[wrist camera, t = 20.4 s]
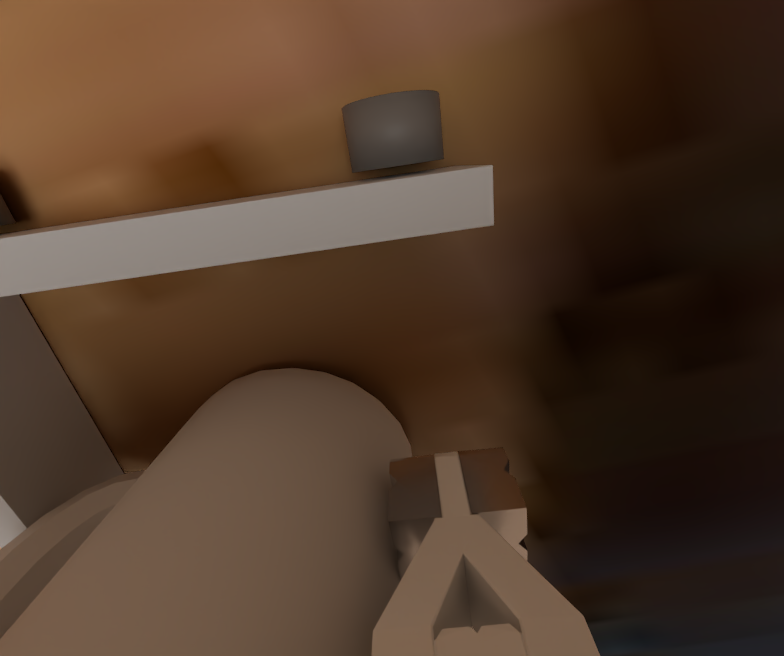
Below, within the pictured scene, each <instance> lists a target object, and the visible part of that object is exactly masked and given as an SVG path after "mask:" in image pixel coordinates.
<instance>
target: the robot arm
mask: <svg viewBox="0 0 784 656" xmlns="http://www.w3.org/2000/svg"><path fill="white" fill-rule="evenodd" d="M389 475H390V480H391V485H392V488H391V489H390V490H389V506H388V523H389V527H390V532H391V537H392V541H393V546H394V547H395V548H396V549H397V563H398V567H399V572H400V576H401V581H400V583H399V584H398V586H397V588H396V590H395V592H394V594H393V595H392V597H391V599H390V601H389V603H388V604H387V606H386V608H385V610H384V612H383V613H382V615H381V617H380V619H379V621H378V622H377V624H376V626H375V628H374V630H373V638H372V656H600V654H599V652H598V650H597V647H596V645H595V642H594V640H593V638H592V635H591V633H590V630H589V628H588V626H587V623H586V621H585V618H584V616H583V615H582V614H581V613H580V612H579V611H578V610H577V609H576V608H575V607H574V606H573V605H572V604H571V603H570V602H569V601H568V600H567V599H566V598H564V597H563V596H562V595H561V594H560V593H559V592H558V591H557V590H556V589H555V588H554V587H553V586H552V585H551V584H550V583H549V582H548V581H547V580H546V579H545V578H544V577H543V576H542V575H541V574H540V573H539V572H538V571H537V570H536V569H535V568H534V567H533V566H532V565H531V564H529V563H528V562H527V548H526V545H525V542H524V539H523V538H524V537H525V536H526V535H527V508H526V505H525V502H524V500H523V497H522V494H521V491H520V489H519V486H518V483H517V481H516V478H515V477H513V476H512V475H510V474H509V460H508V457H507V455H506V452H505V450H504V449H503V447H500V448H489V449H477V450H465V451H458V453H457V452H456V451H454V452H446V453H436V454H435V459H434V454H432V455H424V456H416V457H407V458H399V459H391V460H390V466H389ZM471 627H473V628H474V630H475V631H476V632H475V631H474V630H473V629H472V628H471Z"/></svg>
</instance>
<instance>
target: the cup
mask: <svg viewBox="0 0 784 656" xmlns="http://www.w3.org/2000/svg"><path fill="white" fill-rule="evenodd" d="M407 457H412V452H411V445H410V443H409V441H408V439H407V437H406V435H405V433H404V431H403V428H402V426H401V424H400V422H399V421H398V420H397V419H396V418H395V417H394V416H393V415H392V414H391V413H390V411H389V410H388V409H387V408H386V407H385V406H384V405H383V404H382V403H381V402H380V401H379V400H378V399H377V398H375V397H374V396H372V395H371V394H369V393H368V392H366V391H365V390H363V389H362V388H360V387H359V386H357V385H356V384H354V383H353V382H350V381H347V380H345V379H342V378H339V377H337V376H334V375H331V374H329V373H326V372H320V371H313V370H307V369H300V368H286V369H274V370H262V371H258V372H255V373H252V374H249V375H246V376H243V377H240V378H238V379H235V380H232V381H231V382H230V383H228V384H227V385H226V386H224V387H223V388H221V389H220V390H219V391H217V392H216V393H215V394H213V395H212V396H211V397H210V398H209V399H208V400H207V401H206V402H205V403H204V404H203V405H202V406H201V407H200V408H199V409H198V410H197V411H196V412H195V413H194V414H193V416H192V417H191V418H190V419H189V420H188V421H187V423H186V424H185V425H184V426H183V427H182V428H181V430H180V431H179V432H178V433H177V434H176V435H175V436H174V438H173V439H172V440H171V441H170V442H169V443H168V445H167V446H166V447H165V448H164V449H163V450H162V452H161V453H160V454H159V455H158V456H157V457H156V459H155V460H154V461H153V462H152V463H151V464H150V466H149V467H148V468H147V469H146V470H142V471H137V472H132V473H126V474H121V475H119V476H117V477H114V478H112V479H110V480H107V481H105V482H102V483H100V484H98V485H95V486H93V487H90V488H88V489H86V490H84V491H82V492H80V493H79V494H77V495H76V496H74V497H72V498H71V499H69V500H68V501H66V502H64V503H63V504H61V505H60V506H58V507H56V508H55V509H53V510H52V511H50V512H48V513H47V514H45V515H44V516H42V517H41V518H40V519H38V520H37V521H36V522H34V523H33V524H32V525H31V526H29V527H28V528H27V529H26V530H24V531H23V532H22V533H21V534H19V535H18V536H17V537H16V538H14V539H13V540H12V541H10V542H9V543H8V544H7V545H5V546H4V547H3V548H2V549H1V550H0V656H372V638H373V630H374V628H375V626H376V624H377V622H378V621H379V619H380V617H381V615H382V613H383V612H384V610H385V608H386V606H387V604H388V603H389V601H390V599H391V597H392V595H393V594H394V592H395V590H396V588H397V586H398V584H399V583H400V581H401V576H400V572H399V567H398V563H397V549H396V548H395V547H394V546H393V541H392V537H391V532H390V527H389V523H388V506H389V490H390V489H391V488H392V485H391V480H390V475H389V466H390V460H391V459H399V458H407Z"/></svg>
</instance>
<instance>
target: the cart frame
mask: <svg viewBox="0 0 784 656" xmlns="http://www.w3.org/2000/svg"><path fill="white" fill-rule="evenodd" d="M342 113H343V119H344V125H345V131H346V137H347V143H348V149H349V155H350V161H351V167H352V173H353V172H360V171H367V170H374V169H381V168H388V167H394V166H401V165H408V164H414V163H421V162H427V161H434V160H440V159H444V155H443V141H442V127H441V113H440V99H439V92H437V91H431V90H416V91H405V92H397V93H390V94H384V95H379V96H374V97H370V98H366V99H362V100H358V101H355V102H352V103H350V104H347V105H345V106H344V107H342ZM13 223H16V222H15V220H14V218H13V216H12V215H11V213H10V211H9V209H8V207H7V205H6V204H5V202H4V200H3V198H2V196H1V194H0V225H7V224H13ZM492 225H494V201H493V165H462V166H451V167H445V168H438V169H431V170H425V171H418V172H411V173H405V174H398V175H391V176H385V177H378V178H371V179H364V180H358V181H351V182H344V183H338V184H331V185H324V186H318V187H311V188H304V189H298V190H291V191H284V192H278V193H271V194H264V195H258V196H251V197H244V198H238V199H231V200H224V201H218V202H211V203H204V204H198V205H191V206H184V207H178V208H171V209H164V210H158V211H151V212H144V213H138V214H131V215H124V216H118V217H111V218H104V219H98V220H91V221H84V222H78V223H71V224H64V225H58V226H51V227H44V228H38V229H31V230H24V231H18V232H11V233H4V234H0V547H1V548H3V547H4V546H5V545H7V544H8V543H9V542H10V541H12V540H13V539H14V538H16V537H17V536H18V535H19V534H21V533H22V532H23V531H24V530H26V529H27V528H28V527H29V526H31V525H32V524H33V523H34V522H36V521H37V520H38V519H40V518H41V517H42V516H44V515H45V514H47V513H48V512H50V511H52V510H53V509H55V508H56V507H58V506H60V505H61V504H63V503H64V502H66V501H68V500H69V499H71V498H72V497H74V496H76V495H77V494H79V493H80V492H82V491H84V490H86V489H88V488H90V487H93V486H95V485H98V484H100V483H102V482H105V481H107V480H110V479H112V478H114V477H117V476H119V475H121V474H124V473H123V471H122V470H121V468H120V466H119V464H118V463H117V461H116V459H115V458H114V456H113V454H112V453H111V451H110V449H109V447H108V446H107V444H106V442H105V441H104V439H103V437H102V435H101V434H100V432H99V430H98V429H97V427H96V425H95V424H94V422H93V420H92V418H91V417H90V415H89V413H88V412H87V410H86V408H85V406H84V405H83V403H82V401H81V400H80V398H79V396H78V395H77V393H76V391H75V389H74V388H73V386H72V384H71V383H70V381H69V379H68V377H67V376H66V374H65V372H64V371H63V369H62V367H61V366H60V364H59V362H58V360H57V359H56V357H55V355H54V354H53V352H52V350H51V348H50V347H49V345H48V343H47V342H46V340H45V338H44V337H43V335H42V333H41V331H40V330H39V328H38V326H37V325H36V323H35V321H34V319H33V318H32V316H31V314H30V313H29V311H28V309H27V308H26V306H25V304H24V302H23V301H22V299H21V297H20V296H19V294H25V293H32V292H39V291H45V290H52V289H59V288H66V287H73V286H80V285H87V284H94V283H100V282H107V281H114V280H121V279H128V278H135V277H142V276H148V275H155V274H162V273H169V272H176V271H183V270H190V269H197V268H203V267H210V266H217V265H224V264H231V263H238V262H245V261H251V260H258V259H265V258H272V257H279V256H286V255H293V254H300V253H306V252H313V251H320V250H327V249H334V248H341V247H348V246H354V245H361V244H368V243H375V242H382V241H389V240H396V239H403V238H409V237H416V236H423V235H430V234H437V233H444V232H451V231H457V230H464V229H471V228H478V227H485V226H492Z"/></svg>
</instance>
